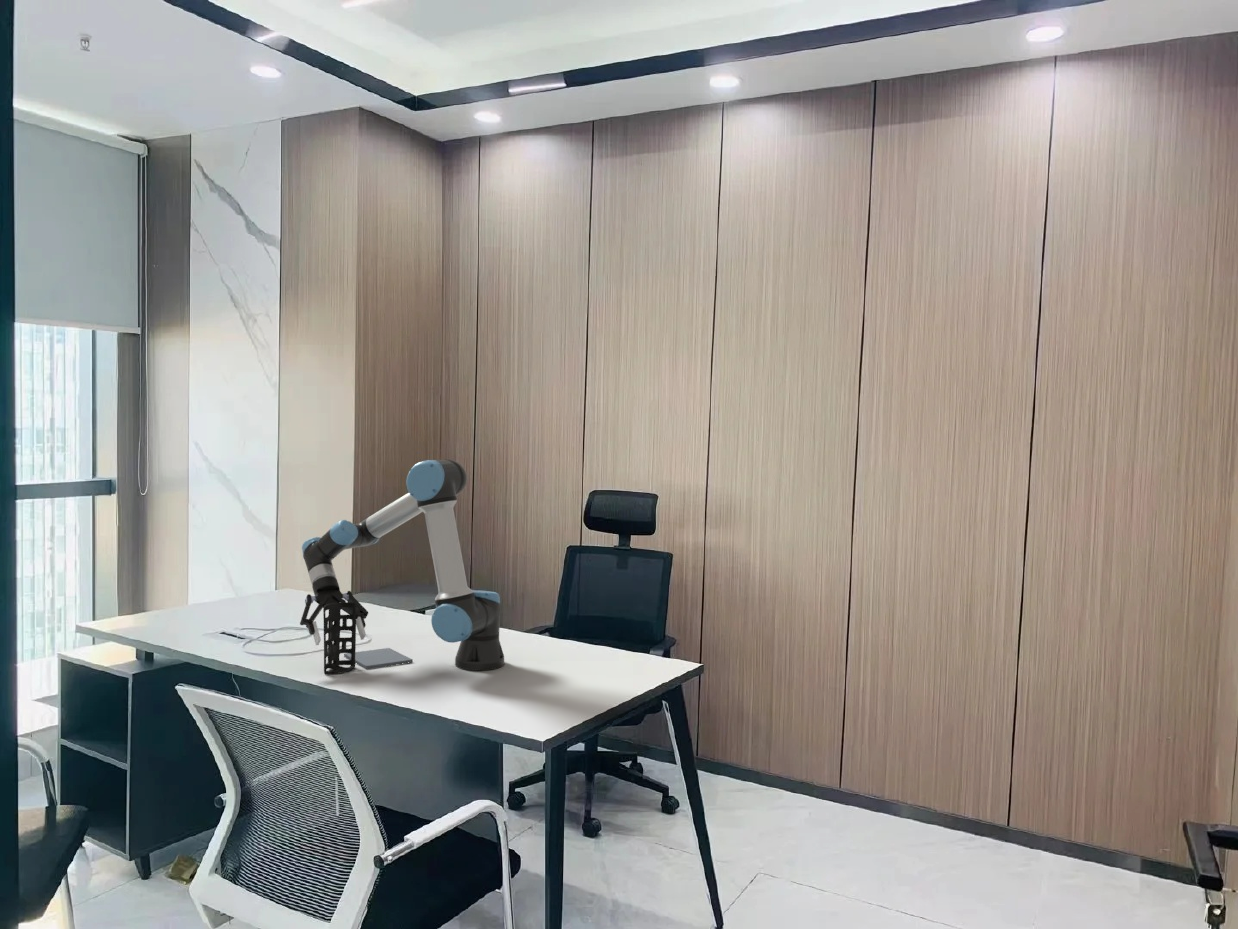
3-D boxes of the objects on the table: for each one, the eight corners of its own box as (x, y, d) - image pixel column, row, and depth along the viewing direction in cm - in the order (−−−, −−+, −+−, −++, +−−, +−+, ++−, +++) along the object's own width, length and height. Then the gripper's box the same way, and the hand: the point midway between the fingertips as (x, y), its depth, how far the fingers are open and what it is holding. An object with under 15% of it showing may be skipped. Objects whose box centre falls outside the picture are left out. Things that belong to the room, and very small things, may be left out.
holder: (333, 676, 259) (334, 608, 258) (314, 673, 262) (315, 605, 262) (360, 668, 269) (362, 602, 268) (342, 665, 272) (343, 600, 272)
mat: (412, 662, 277) (412, 659, 277) (366, 669, 268) (366, 666, 268) (388, 650, 291) (388, 647, 291) (344, 656, 282) (344, 653, 282)
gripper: (359, 586, 285) (377, 642, 273) (280, 592, 269) (295, 652, 258) (366, 571, 280) (385, 628, 269) (286, 577, 265) (301, 637, 254)
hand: (341, 640), depth 263 cm, fingers open, 13 cm apart
